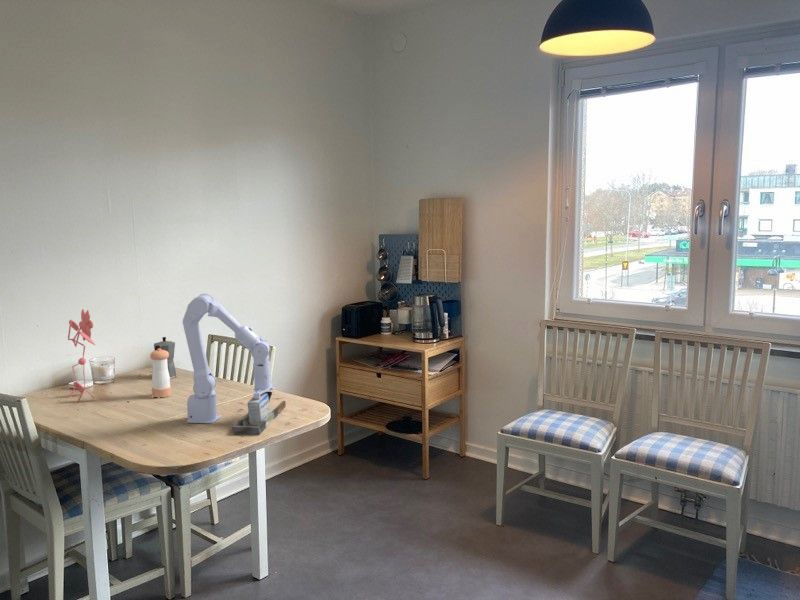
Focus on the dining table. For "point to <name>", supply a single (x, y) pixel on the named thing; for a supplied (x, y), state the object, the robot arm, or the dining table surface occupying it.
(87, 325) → the figurine
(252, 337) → the robot arm
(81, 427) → the dining table surface
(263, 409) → the medicine box
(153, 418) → the dining table surface
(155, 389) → the salt shaker
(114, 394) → the dining table surface
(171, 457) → the dining table surface
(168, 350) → the coffeepot
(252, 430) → the trap channel
